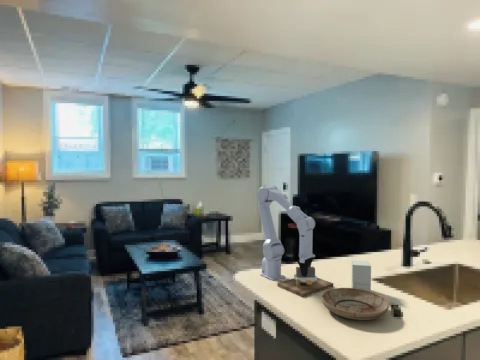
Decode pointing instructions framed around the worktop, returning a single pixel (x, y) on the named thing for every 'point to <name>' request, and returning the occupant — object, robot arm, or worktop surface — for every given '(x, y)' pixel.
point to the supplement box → (361, 275)
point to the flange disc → (309, 278)
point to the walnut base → (304, 286)
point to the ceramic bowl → (355, 303)
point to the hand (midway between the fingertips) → (305, 274)
